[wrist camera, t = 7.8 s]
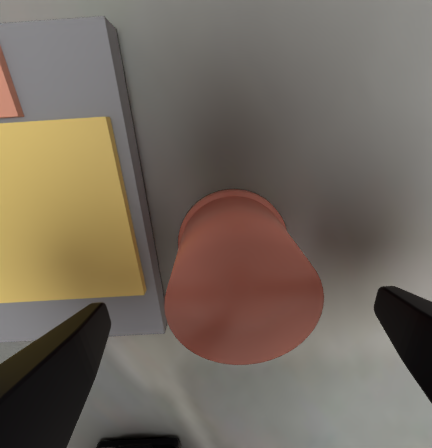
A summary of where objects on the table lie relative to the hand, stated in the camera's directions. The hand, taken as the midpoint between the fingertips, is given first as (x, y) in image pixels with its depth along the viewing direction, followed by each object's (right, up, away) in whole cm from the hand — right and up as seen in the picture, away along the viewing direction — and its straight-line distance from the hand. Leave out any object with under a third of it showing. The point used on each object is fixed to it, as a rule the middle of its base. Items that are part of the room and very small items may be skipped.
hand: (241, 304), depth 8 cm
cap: (0, +2, +4) cm, 5 cm away
